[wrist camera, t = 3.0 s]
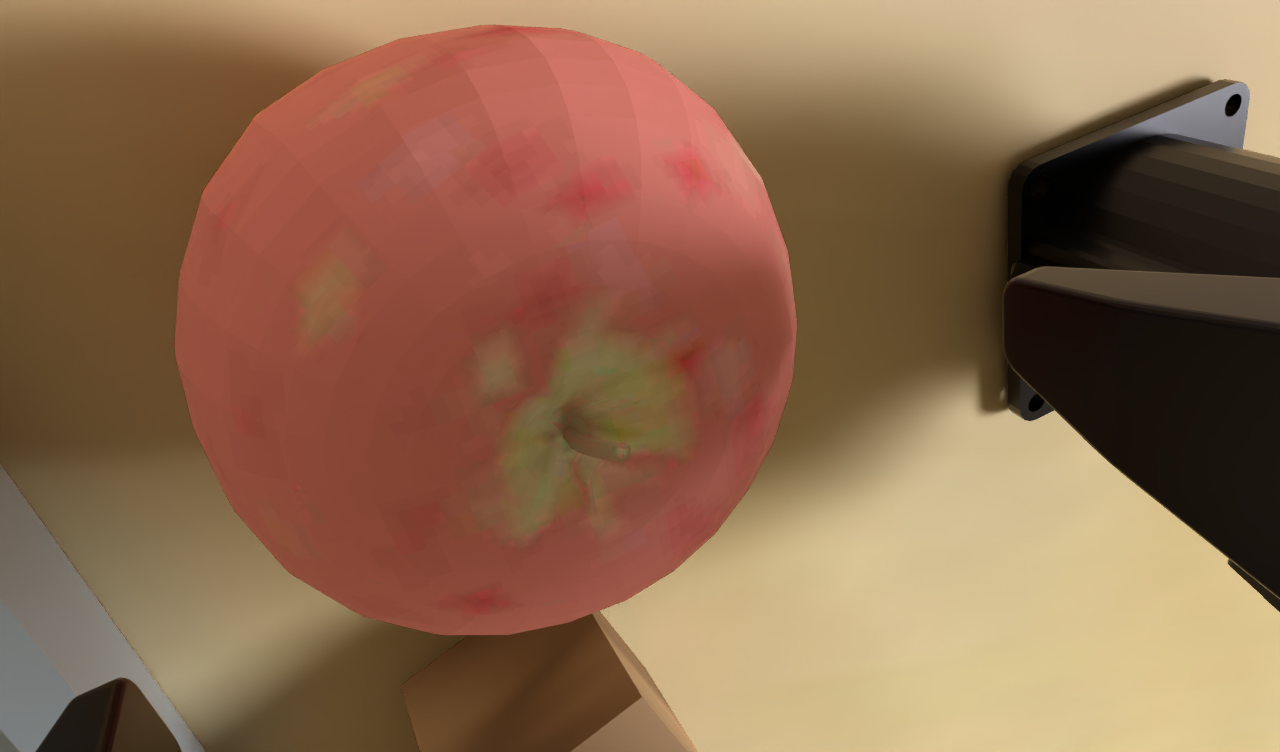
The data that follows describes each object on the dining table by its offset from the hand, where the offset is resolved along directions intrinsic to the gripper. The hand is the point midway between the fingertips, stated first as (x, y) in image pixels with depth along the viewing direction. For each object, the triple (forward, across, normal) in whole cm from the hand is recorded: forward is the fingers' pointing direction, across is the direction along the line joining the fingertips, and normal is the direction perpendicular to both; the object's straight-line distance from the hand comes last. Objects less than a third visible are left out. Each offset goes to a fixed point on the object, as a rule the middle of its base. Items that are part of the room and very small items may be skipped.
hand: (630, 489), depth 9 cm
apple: (+8, 0, 0) cm, 8 cm away
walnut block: (+8, +1, +10) cm, 13 cm away
